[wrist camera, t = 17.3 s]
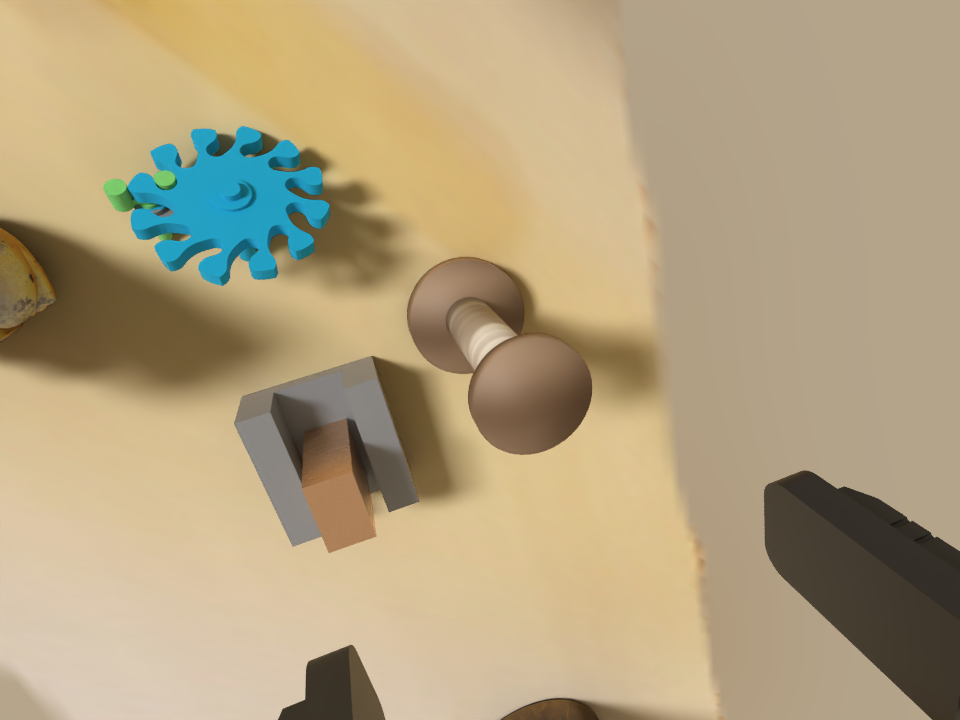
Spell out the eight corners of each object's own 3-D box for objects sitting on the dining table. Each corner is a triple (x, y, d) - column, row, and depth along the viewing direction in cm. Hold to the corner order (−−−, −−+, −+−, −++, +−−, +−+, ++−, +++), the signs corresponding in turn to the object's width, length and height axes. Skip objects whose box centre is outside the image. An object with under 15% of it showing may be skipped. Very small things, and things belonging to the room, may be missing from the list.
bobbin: (393, 275, 38) (432, 350, 25) (505, 243, 39) (599, 297, 26) (424, 380, 41) (473, 493, 28) (526, 347, 42) (619, 441, 29)
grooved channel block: (241, 396, 38) (234, 423, 34) (371, 355, 39) (377, 378, 36) (294, 511, 42) (292, 546, 39) (410, 471, 44) (419, 501, 40)
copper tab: (304, 431, 39) (301, 488, 33) (346, 418, 39) (352, 471, 33) (327, 489, 41) (328, 553, 35) (367, 475, 42) (376, 536, 35)
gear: (340, 135, 32) (313, 282, 28) (342, 203, 38) (319, 336, 33) (131, 98, 31) (68, 250, 26) (163, 175, 36) (115, 312, 32)
